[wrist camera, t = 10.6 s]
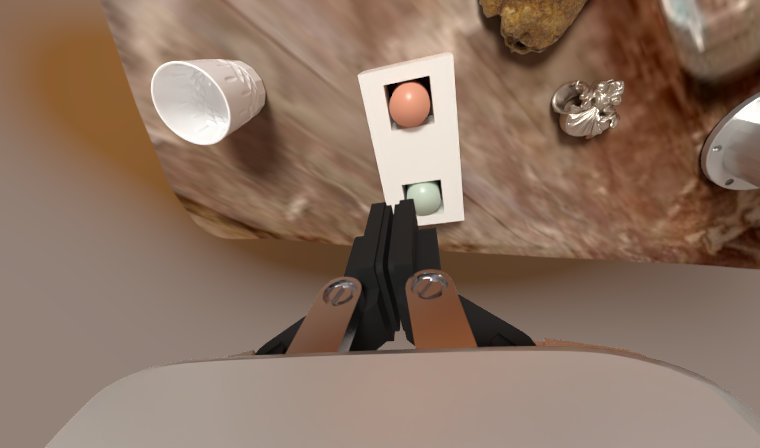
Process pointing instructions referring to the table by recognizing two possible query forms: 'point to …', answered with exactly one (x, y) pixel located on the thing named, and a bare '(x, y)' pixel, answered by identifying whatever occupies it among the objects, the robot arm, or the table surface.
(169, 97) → the white cup
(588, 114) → the ornament
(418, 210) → the sage button
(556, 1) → the decorative rock
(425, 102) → the terracotta button
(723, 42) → the table surface
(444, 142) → the button box
